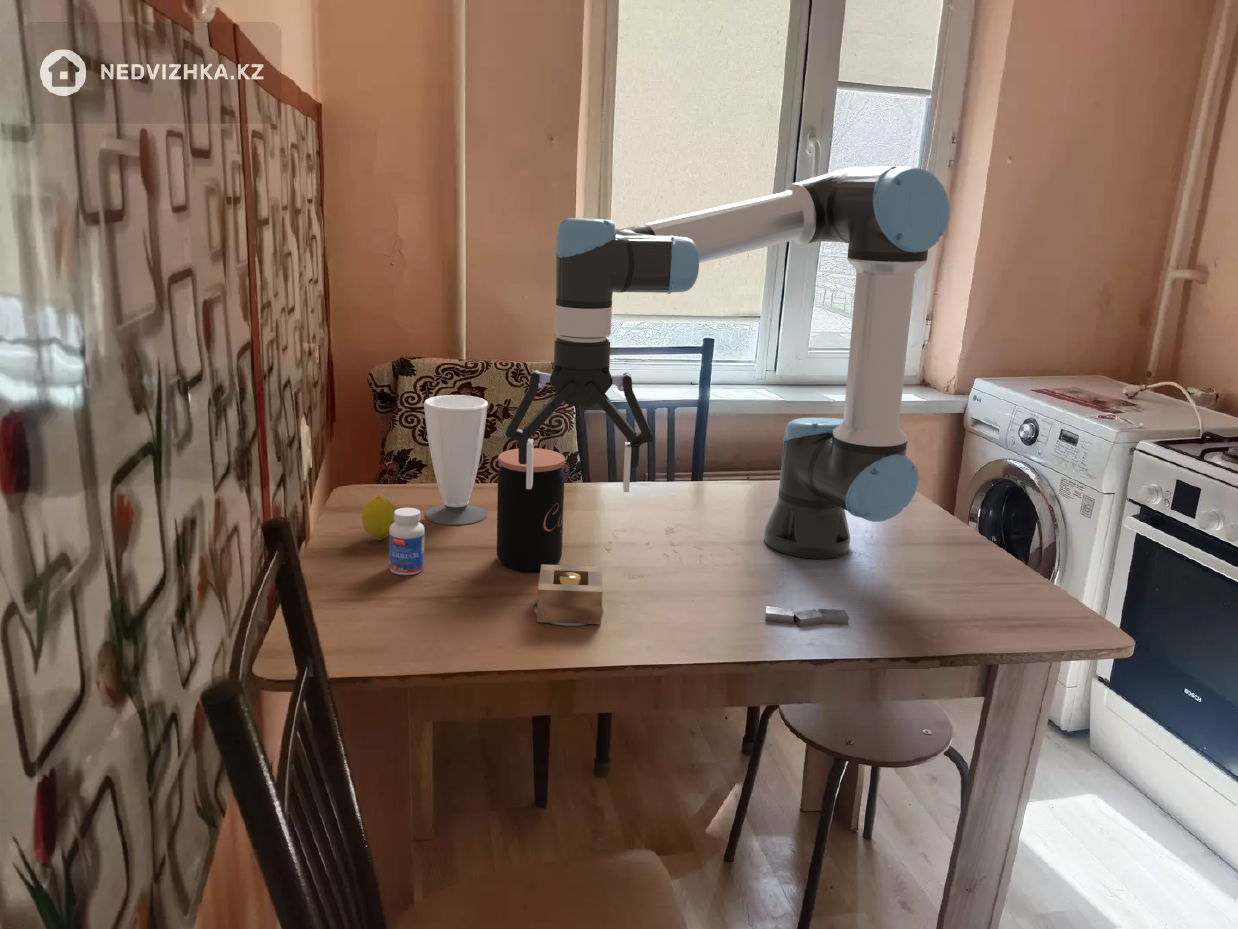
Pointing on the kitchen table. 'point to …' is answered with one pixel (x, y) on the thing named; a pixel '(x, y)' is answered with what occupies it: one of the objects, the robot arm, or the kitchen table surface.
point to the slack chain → (806, 616)
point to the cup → (455, 455)
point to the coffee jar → (530, 511)
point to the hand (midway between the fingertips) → (577, 487)
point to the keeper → (568, 579)
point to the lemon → (378, 517)
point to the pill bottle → (406, 542)
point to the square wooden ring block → (570, 595)
